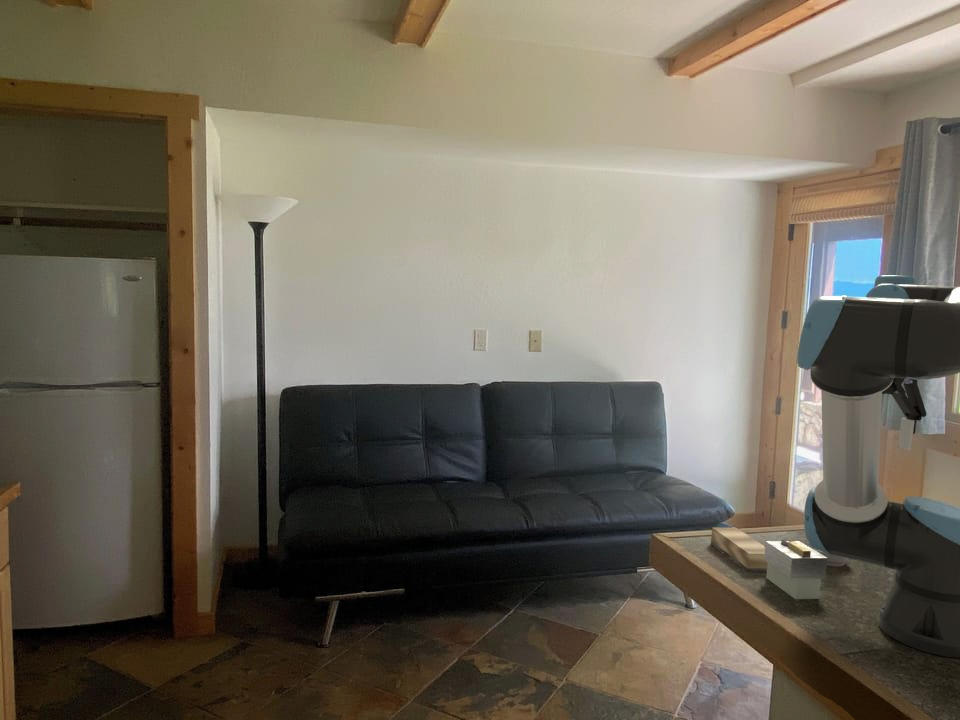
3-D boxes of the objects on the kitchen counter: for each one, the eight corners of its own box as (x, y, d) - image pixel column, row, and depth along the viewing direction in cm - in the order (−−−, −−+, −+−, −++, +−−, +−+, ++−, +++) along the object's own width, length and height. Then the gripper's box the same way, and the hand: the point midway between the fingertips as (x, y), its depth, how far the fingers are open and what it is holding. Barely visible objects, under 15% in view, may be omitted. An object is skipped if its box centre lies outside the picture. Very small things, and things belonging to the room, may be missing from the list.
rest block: (818, 598, 134) (821, 578, 133) (795, 599, 133) (797, 579, 132) (788, 577, 143) (790, 558, 143) (766, 577, 143) (768, 559, 142)
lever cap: (825, 577, 134) (828, 552, 133) (789, 578, 133) (792, 553, 132) (797, 559, 143) (799, 536, 142) (763, 560, 141) (766, 536, 141)
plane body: (773, 571, 146) (775, 553, 146) (747, 571, 145) (749, 553, 145) (734, 544, 162) (736, 527, 161) (710, 544, 161) (712, 527, 160)
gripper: (924, 349, 150) (913, 444, 153) (822, 346, 146) (812, 444, 148) (953, 353, 143) (941, 453, 145) (847, 349, 138) (836, 453, 141)
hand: (876, 449), depth 147 cm, fingers open, 13 cm apart
